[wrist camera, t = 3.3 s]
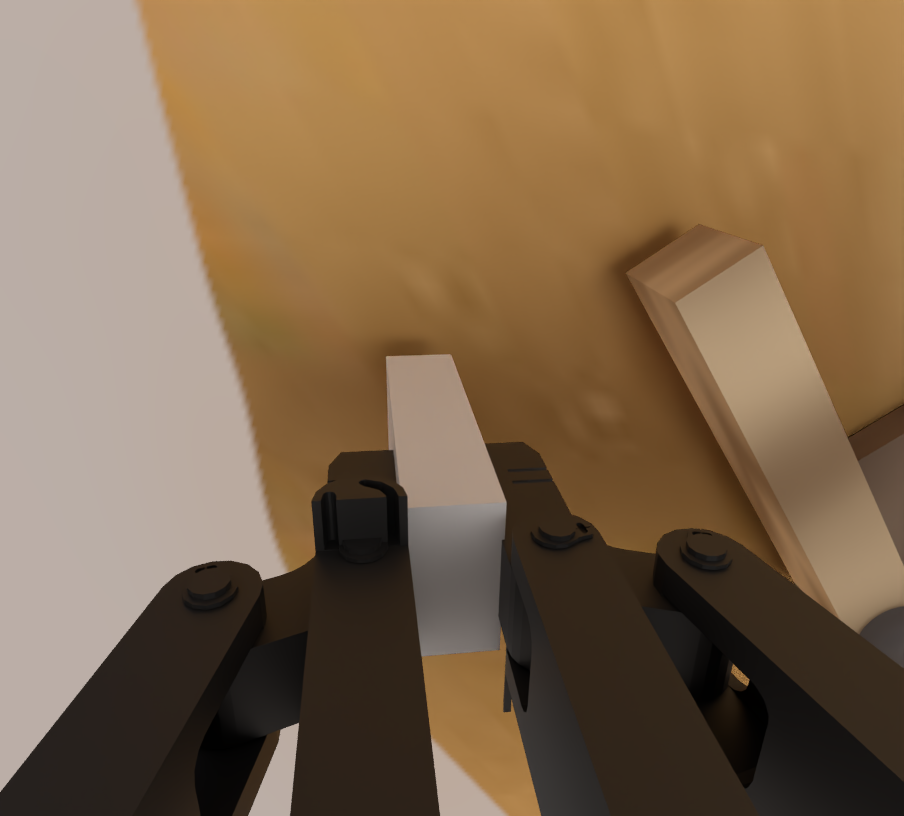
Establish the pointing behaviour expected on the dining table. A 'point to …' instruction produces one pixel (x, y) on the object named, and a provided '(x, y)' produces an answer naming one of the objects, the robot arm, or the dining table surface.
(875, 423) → the frame
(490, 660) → the dining table surface
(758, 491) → the leg
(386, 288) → the dining table surface
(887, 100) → the dining table surface
